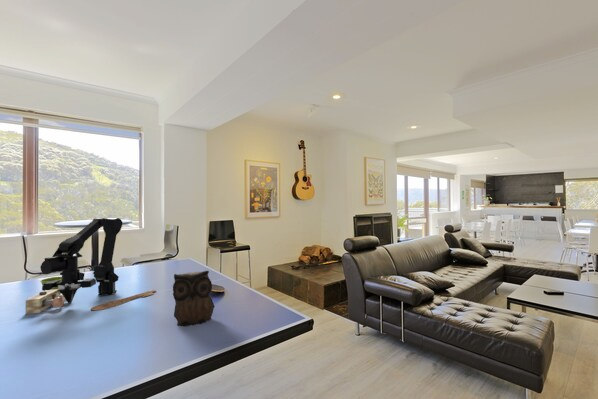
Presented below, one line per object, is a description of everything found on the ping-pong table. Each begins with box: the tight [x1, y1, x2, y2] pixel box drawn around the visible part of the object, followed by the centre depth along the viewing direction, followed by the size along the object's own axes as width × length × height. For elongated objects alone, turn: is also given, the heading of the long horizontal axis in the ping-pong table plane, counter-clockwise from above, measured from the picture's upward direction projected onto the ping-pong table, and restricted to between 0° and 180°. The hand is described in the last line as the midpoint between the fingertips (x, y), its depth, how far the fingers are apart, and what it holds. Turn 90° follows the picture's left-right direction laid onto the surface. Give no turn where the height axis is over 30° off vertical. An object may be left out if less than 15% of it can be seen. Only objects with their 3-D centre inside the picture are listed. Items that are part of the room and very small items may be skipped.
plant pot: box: [39, 276, 62, 295], centre depth 145 cm, size 9×9×9 cm
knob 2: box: [52, 294, 68, 303], centre depth 134 cm, size 7×4×4 cm, turn 103°
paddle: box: [89, 289, 157, 312], centre depth 138 cm, size 8×30×2 cm, turn 148°
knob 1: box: [42, 297, 66, 308], centre depth 127 cm, size 7×4×4 cm, turn 103°
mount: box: [25, 289, 59, 315], centre depth 129 cm, size 5×14×7 cm, turn 13°
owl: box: [172, 270, 215, 328], centre depth 112 cm, size 13×13×20 cm
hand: (70, 303), depth 129 cm, fingers closed
